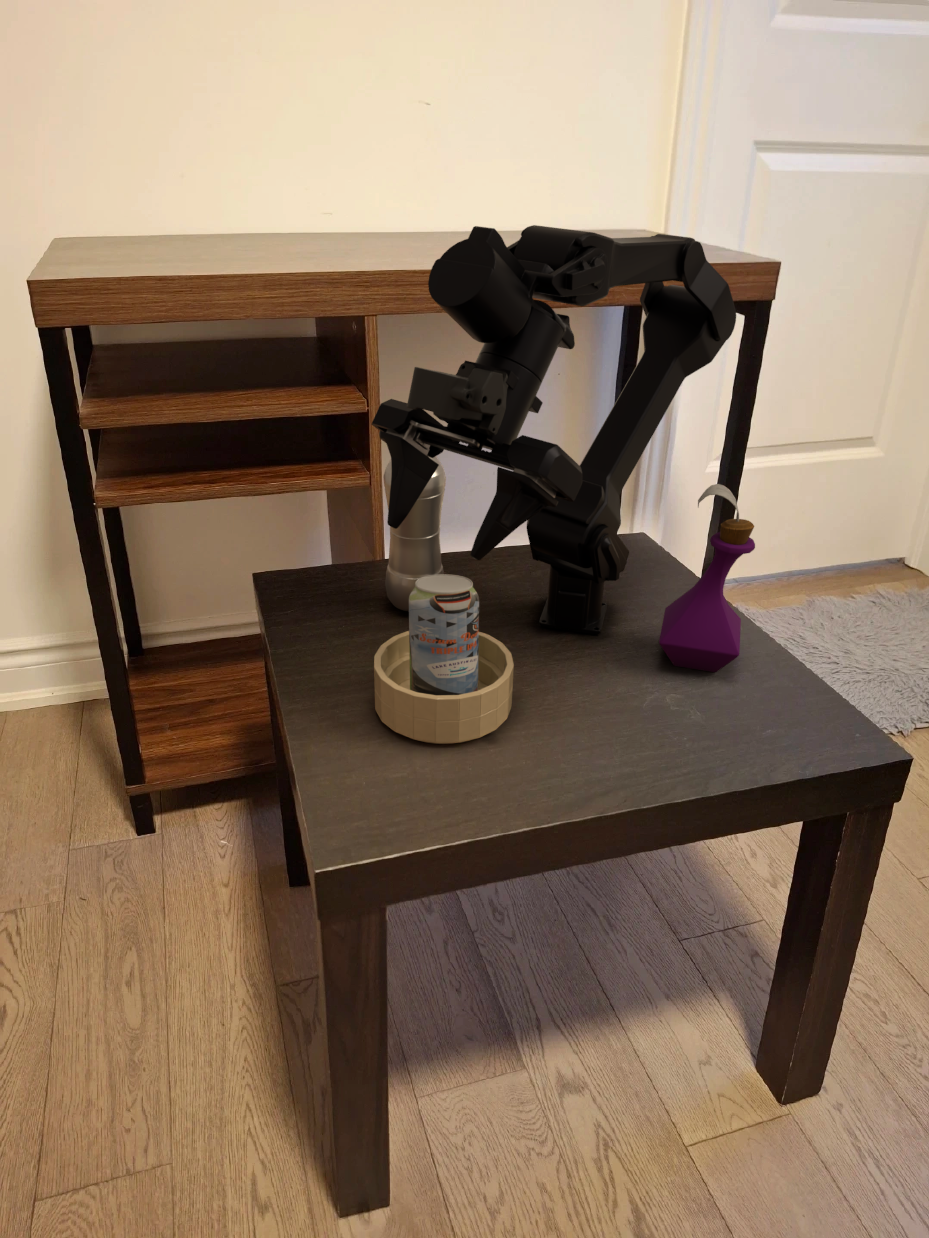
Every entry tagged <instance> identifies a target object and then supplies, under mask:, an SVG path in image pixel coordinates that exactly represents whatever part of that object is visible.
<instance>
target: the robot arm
mask: <svg viewBox="0 0 929 1238" xmlns="http://www.w3.org/2000/svg"><path fill="white" fill-rule="evenodd" d="M673 281H674V282H680V283H682V284H683V285H676V284H669V285H665V284H664V282H673ZM427 282H428V283H427V285H428V292H429V295H430V297H431V299H432V300H433V301H434V302H435V303H436V305H438V306H439V307H440V308H441V309H442V310H443V311H444V312H445V313H446V314H447V315H448V316H449V317H450V318H451V319H452V320H453V321H455V323H456V324H457V325H458V326H459V327H460V328H462V330H463V331H465V333H467V335H468V336H470V337H471V338H472V339H473V340H474V341H476V342H478V343H480V344H483V345H482V347H481V349H480V350H479V351H480V352H479V354H478V355H477V358H476V360H475V361H470V360H464V361H463V363H461V364H460V366H459V367H458V370H457V372H456V373H455V374H453V373H449V372H443V371H438V370H433V369H429V368H423V367H419V366H414V368H413V373H412V377H411V384H410V389H409V394H408V398H407V402H405V401H400V400H398V399H393V398H390V399H387V400H386V401H383V402H381V403H380V404H379V406H378V409H377V411H376V413H375V415H374V417H373V419H372V421H371V424H370V426H373V427H374V428H375V429H377V430H378V431H379V432H378V435H379V439H380V440H381V441H383V443H385V444H386V446H387V449H388V453H389V455H390V460H391V469H392V473H391V488H390V499H389V510H388V509H387V510H388V512H387V520H386V521H387V525H388V526H389V527H390V526H391V527H393V528H395V529H397V528H398V527H399V526H400V524H401V523H402V522H403V521H404V519H405V518H406V517H407V515H408V514H409V512H410V511H411V509H412V507H413V506H414V504H415V503H416V501H417V499H418V498H419V496H420V495H421V493H422V491H423V490H424V488H425V487H426V485H427V483H428V482H429V480H430V479H431V477H432V476H433V474H434V472H435V471H436V469H437V468H438V466H439V464H437V463H436V462H435V461H433V460H432V459H430V458H434V457H435V456H437V457H438V456H439V455H440V454H442V453H443V452H444V450H445V451H447V452H451V453H454V454H458V455H461V456H464V457H467V458H470V459H474V460H477V461H481V462H484V463H488V464H490V465H494V466H497V469H496V491H495V495H494V496H493V499H492V501H491V504H490V505H489V507H488V510H487V511H486V514H485V516H484V518H483V520H482V523H481V525H480V528H479V530H478V531H477V534H476V536H475V539H474V542H473V544H472V548H471V551H470V557H471V558H473V559H474V560H476V561H481V560H482V559H483V558H484V557H485V556H487V555H488V554H489V553H490V552H492V551H493V549H495V548H496V547H497V546H498V545H499V544H500V543H502V542H503V541H504V540H505V539H506V538H507V537H508V536H510V535H511V534H512V533H514V531H515V530H517V529H518V528H520V526H522V525H523V524H524V523H526V533H527V538H528V542H529V547H530V552H531V556H532V560H534V561H537V562H541V563H544V564H547V565H549V577H548V578H549V579H548V593H547V598H546V601H545V604H544V605H543V606H544V607H543V610H542V612H541V615H540V618H539V620H538V626H539V627H541V628H547V629H548V628H549V629H555V630H562V631H569V632H576V633H583V634H591V635H600V634H602V631H603V627H604V621H605V618H606V615H607V609H608V604H607V603H606V602H603V597H604V589H605V582H615V581H618V580H620V575H621V573H623V572H624V571H625V568H626V566H627V563H628V558H629V555H630V549H628V547H627V546H626V544H625V543H624V541H622V539H621V538H620V536H619V535H618V532H619V529H620V527H621V525H622V516H621V502H620V496H621V493H622V491H623V489H624V487H625V486H626V484H627V482H628V480H629V478H630V477H631V475H632V473H633V471H634V469H635V468H636V466H637V464H638V462H639V461H640V459H641V457H642V455H643V454H644V451H645V450H646V448H647V446H648V444H649V443H650V441H651V439H652V438H653V436H654V434H655V432H656V430H657V428H658V427H659V425H660V423H661V422H662V419H663V418H664V416H665V414H666V413H667V410H668V409H669V407H670V405H671V403H672V402H673V400H674V398H675V396H676V394H677V393H678V391H679V389H680V387H681V386H682V384H683V382H684V381H685V379H686V378H688V377H689V376H691V375H692V374H694V373H696V372H698V371H699V370H701V369H703V368H704V367H706V366H707V365H709V364H710V363H712V362H713V360H714V359H715V358H716V356H717V355H718V353H719V352H720V351H721V349H722V348H723V346H724V345H725V343H726V342H727V341H728V340H729V339H730V337H731V336H732V334H733V332H734V330H735V326H736V324H737V323H736V322H737V309H736V307H735V302H734V299H733V295H732V291H731V289H730V285H729V283H728V282H727V280H725V279H724V277H723V276H722V275H721V274H720V273H719V272H718V270H716V269H715V267H713V266H712V264H711V263H710V262H709V261H708V260H707V257H706V254H705V250H704V247H703V245H702V244H701V242H699V241H698V240H696V239H695V238H694V237H689V236H680V235H674V234H673V235H672V234H666V233H665V234H663V233H657V234H655V235H651V236H639V237H638V236H637V237H636V236H635V237H609V236H606V235H603V234H601V233H600V234H599V233H596V232H594V231H593V232H592V231H585V230H577V229H568V228H560V227H553V226H544V225H536V224H532V225H529V226H527V227H525V228H524V229H522V231H521V233H520V238H519V239H518V240H517V241H515V242H513V243H512V244H510V245H508V246H507V245H506V243H505V241H504V239H503V237H502V235H501V234H500V233H499V232H498V230H496V228H494V227H486V226H478V225H475V226H473V227H472V228H471V231H470V233H469V235H468V238H465V239H463V240H460V241H458V242H457V243H455V244H453V245H452V246H450V247H449V248H448V249H447V250H446V251H445V252H444V253H443V254H441V256H440V258H437V259H436V260H435V261H434V262H433V265H432V266H431V269H430V272H429V275H428V281H427ZM642 284H644V286H643V288H642V291H641V294H640V296H639V303H640V305H641V307H642V310H643V312H644V314H645V318H644V321H643V322H642V336H643V337H642V339H643V350H644V351H643V353H642V355H641V357H640V359H639V360H638V362H637V364H636V366H635V367H634V369H633V371H632V373H631V375H630V377H629V378H628V379H627V382H626V384H625V385H624V387H623V389H622V391H621V393H620V394H619V395H618V398H617V400H616V401H615V402H614V405H613V406H612V408H611V410H610V412H609V413H608V415H607V416H606V419H605V420H604V422H603V424H602V425H601V427H600V429H599V430H598V432H597V434H596V436H595V438H594V439H593V441H592V443H591V445H590V447H589V448H588V450H587V452H586V453H585V455H584V457H583V459H582V461H581V462H580V464H579V463H578V462H577V461H575V459H573V458H572V457H571V456H570V455H569V454H568V453H567V452H566V451H565V450H564V449H563V448H562V447H561V446H559V444H557V443H553V442H549V441H546V440H543V439H539V438H535V437H531V436H527V435H525V434H524V435H523V434H522V435H520V436H519V434H520V432H521V431H522V428H523V425H524V423H525V421H526V419H527V417H528V414H529V413H530V412H531V413H534V414H539V412H540V410H541V408H542V405H543V401H542V400H541V399H540V398H539V397H538V396H537V395H538V392H539V390H540V387H541V386H542V383H543V381H544V379H545V377H546V375H547V372H548V370H549V368H550V366H551V363H552V361H553V359H554V357H555V355H556V352H557V350H558V349H559V348H562V349H566V350H574V347H575V346H576V343H575V341H576V340H575V335H574V332H573V331H572V327H571V324H570V323H571V322H570V321H571V320H570V316H569V315H567V314H561V313H557V312H556V311H555V310H554V309H553V308H552V307H551V306H550V305H549V303H547V302H545V301H549V302H554V303H560V304H566V305H572V306H578V307H585V306H588V305H590V304H593V303H595V302H597V301H600V300H602V299H604V298H606V297H607V296H608V295H609V292H610V289H613V288H615V287H622V286H632V285H642ZM543 300H544V301H543ZM427 411H428V412H432V414H433V416H432V415H431V414H429V413H428V412H427ZM434 416H435V417H436V418H437V419H439V420H440V421H442V422H444V423H446V424H447V425H446V426H445V425H443V424H442V423H441V422H440V421H438V420H437V419H436V418H434ZM483 448H484V449H483ZM485 449H487V450H485ZM488 450H490V451H488ZM429 457H430V458H429Z"/></svg>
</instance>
